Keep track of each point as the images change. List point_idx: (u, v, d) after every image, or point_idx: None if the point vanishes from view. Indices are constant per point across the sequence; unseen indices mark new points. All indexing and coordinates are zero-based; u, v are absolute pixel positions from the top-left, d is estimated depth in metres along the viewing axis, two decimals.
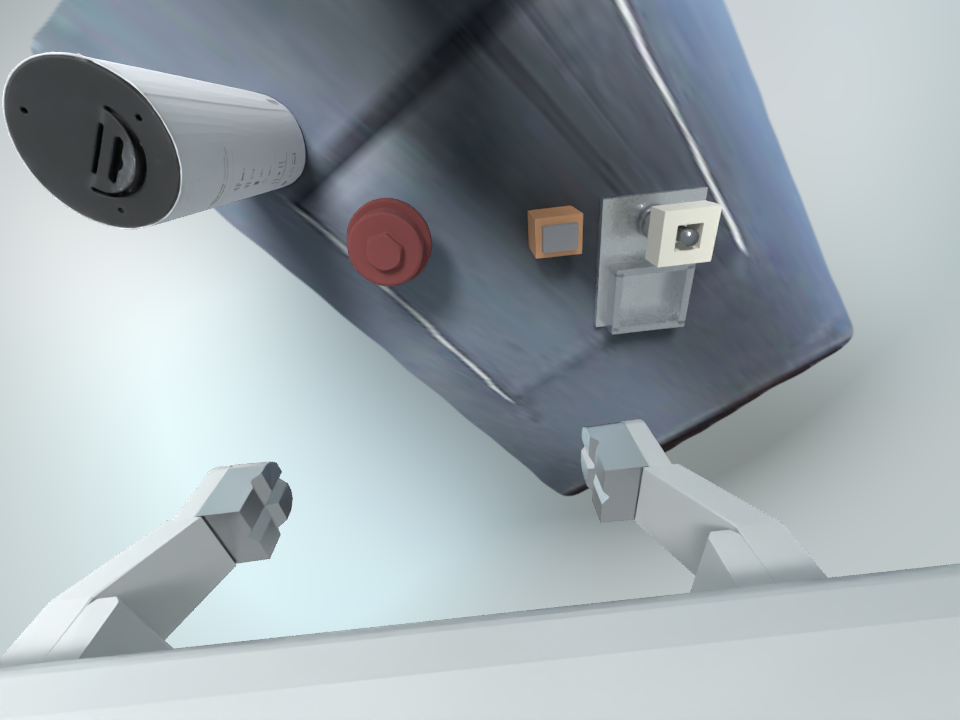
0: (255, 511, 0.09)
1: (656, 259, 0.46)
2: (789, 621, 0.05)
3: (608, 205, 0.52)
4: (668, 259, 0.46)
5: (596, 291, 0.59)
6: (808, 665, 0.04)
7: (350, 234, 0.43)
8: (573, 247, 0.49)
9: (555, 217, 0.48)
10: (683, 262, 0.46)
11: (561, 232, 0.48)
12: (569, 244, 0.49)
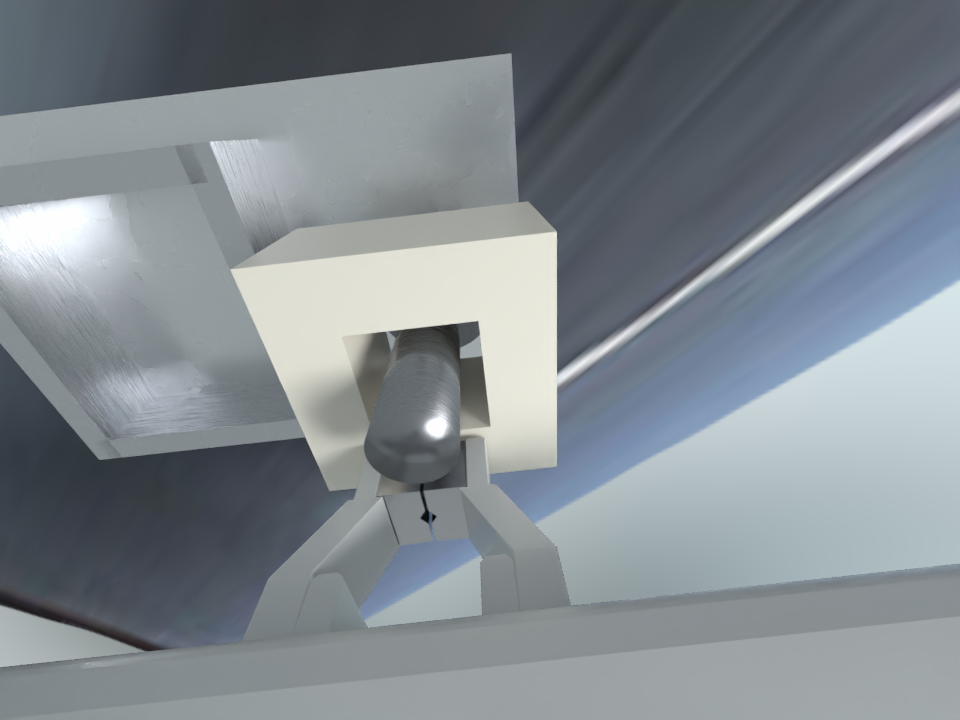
0: None
1: (284, 256, 0.08)
2: (789, 621, 0.05)
3: (487, 84, 0.13)
4: (293, 319, 0.08)
5: None
6: (808, 665, 0.04)
7: None
8: None
9: None
10: (297, 394, 0.09)
11: None
12: None
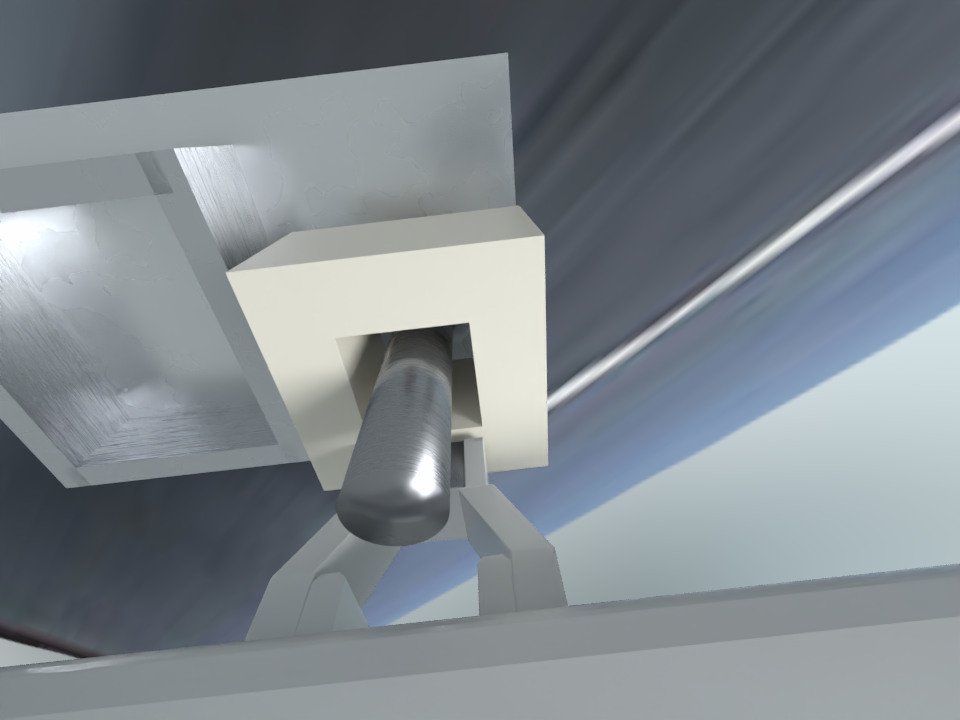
0: None
1: (279, 260, 0.08)
2: (789, 621, 0.05)
3: (482, 86, 0.12)
4: (288, 321, 0.08)
5: None
6: (808, 665, 0.04)
7: None
8: None
9: None
10: (292, 395, 0.09)
11: None
12: None
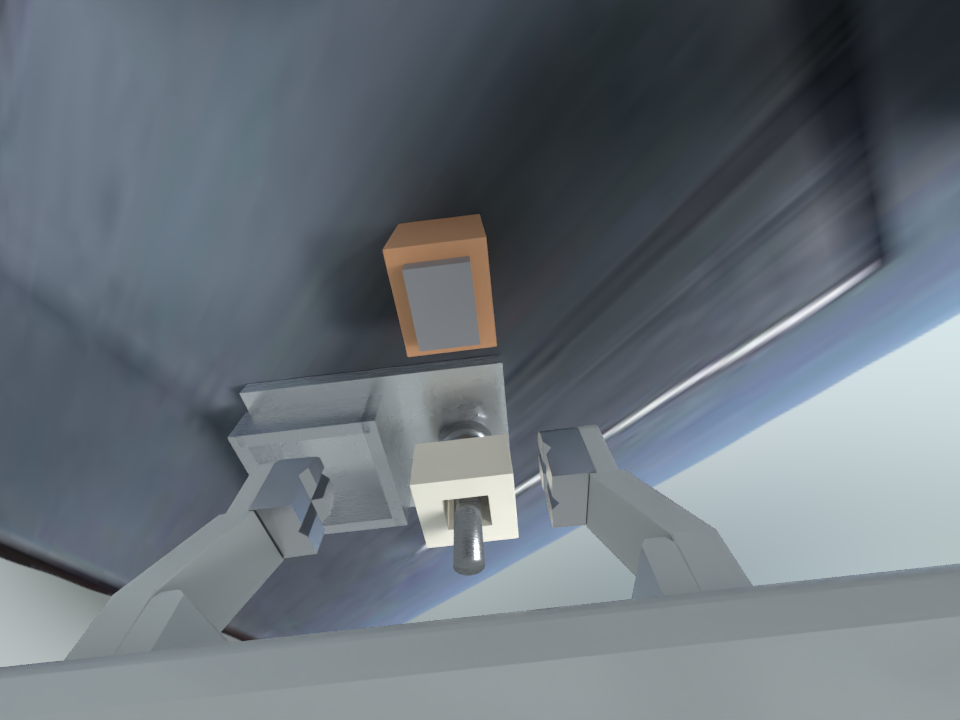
0: (304, 506, 0.09)
1: (424, 477, 0.24)
2: (789, 621, 0.05)
3: (491, 373, 0.28)
4: (426, 496, 0.24)
5: (321, 379, 0.28)
6: (808, 665, 0.04)
7: None
8: (423, 342, 0.20)
9: (489, 287, 0.20)
10: (422, 516, 0.25)
11: (458, 309, 0.19)
12: (430, 331, 0.20)
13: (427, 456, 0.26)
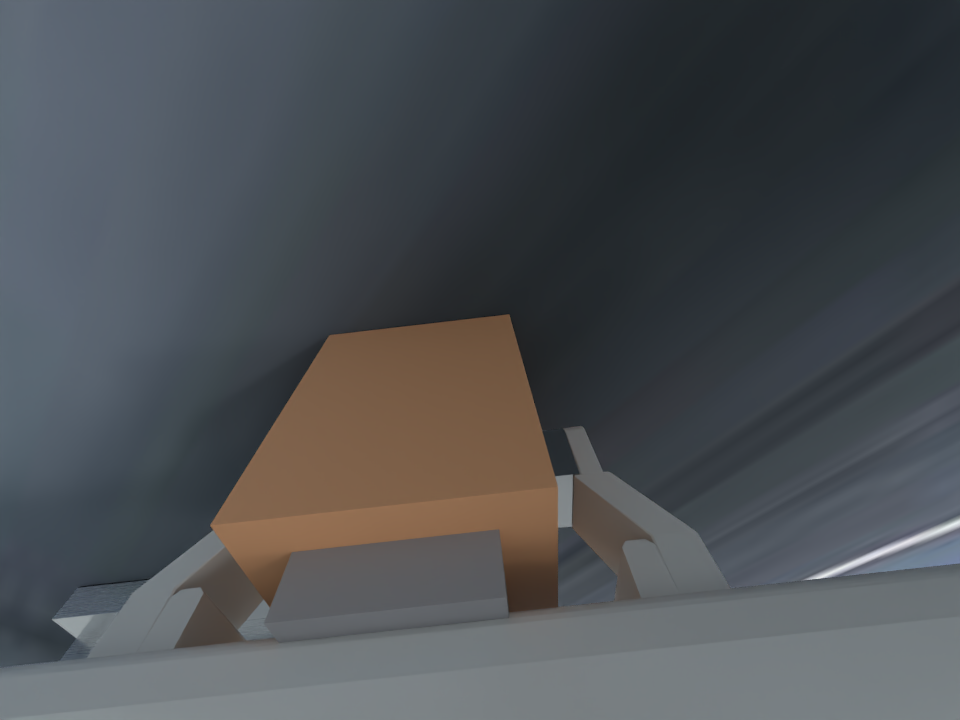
0: None
1: None
2: (789, 621, 0.05)
3: None
4: None
5: None
6: (808, 665, 0.04)
7: None
8: None
9: (551, 586, 0.07)
10: None
11: None
12: None
13: None
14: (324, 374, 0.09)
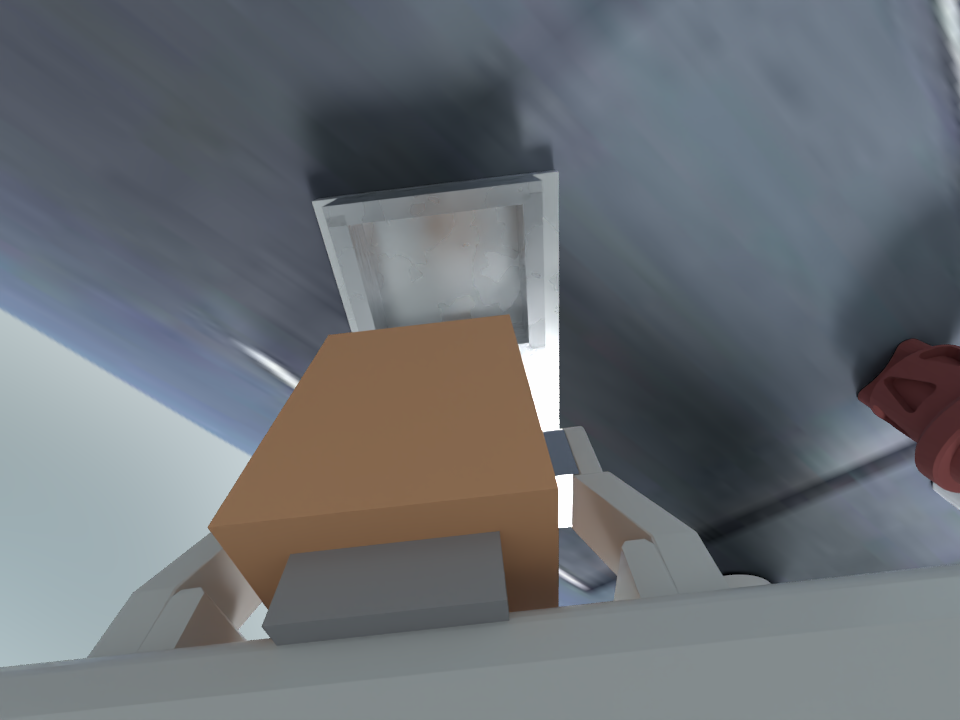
0: None
1: None
2: (789, 621, 0.05)
3: (549, 423, 0.31)
4: None
5: None
6: (808, 665, 0.04)
7: None
8: None
9: (552, 588, 0.07)
10: None
11: None
12: None
13: None
14: (323, 374, 0.09)
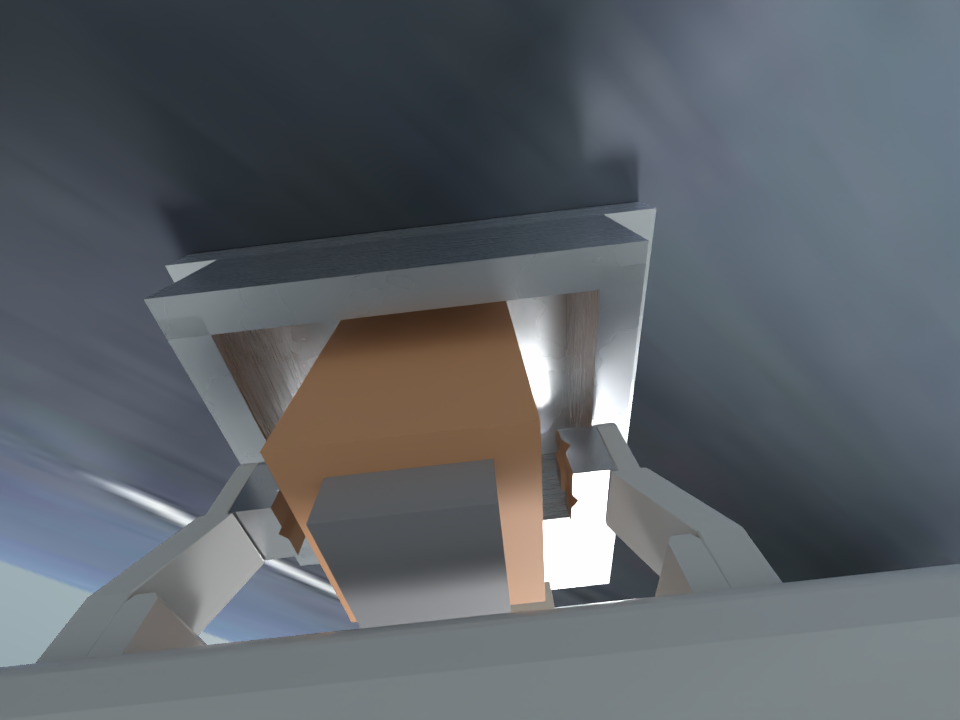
0: (285, 508, 0.09)
1: None
2: (789, 621, 0.05)
3: (595, 576, 0.20)
4: None
5: None
6: (808, 665, 0.04)
7: None
8: None
9: (537, 514, 0.08)
10: None
11: (463, 585, 0.08)
12: (393, 620, 0.08)
13: None
14: (342, 344, 0.10)
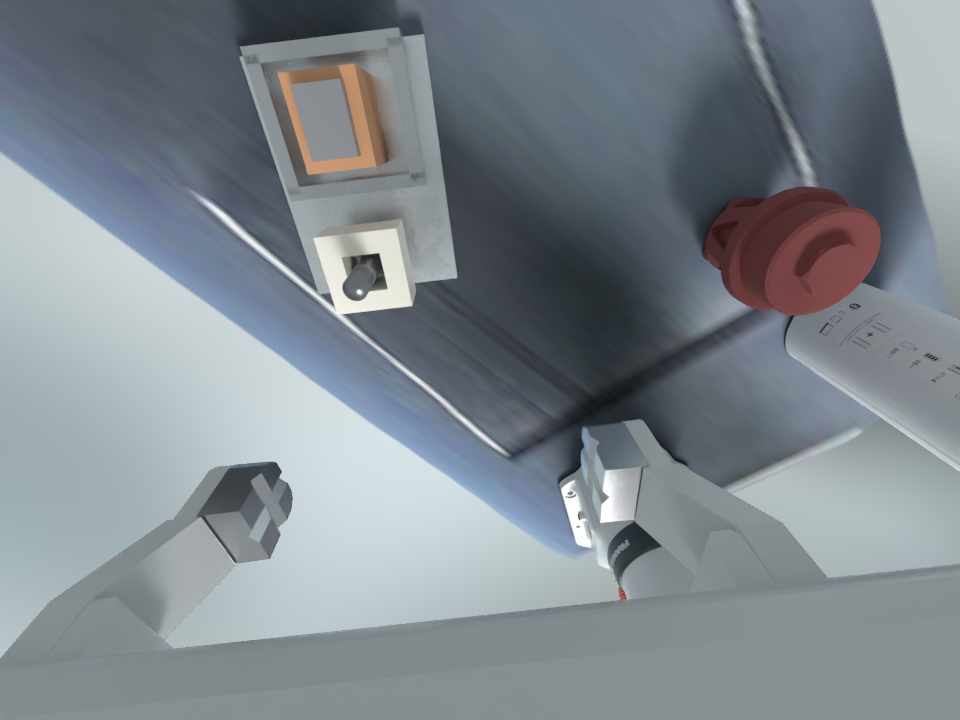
0: (255, 511, 0.09)
1: (399, 238, 0.30)
2: (789, 621, 0.05)
3: (448, 270, 0.38)
4: (383, 241, 0.30)
5: (436, 123, 0.32)
6: (808, 665, 0.04)
7: (854, 288, 0.30)
8: (314, 152, 0.26)
9: (362, 110, 0.26)
10: (357, 236, 0.30)
11: (336, 122, 0.26)
12: (317, 142, 0.26)
13: (402, 234, 0.32)
14: None
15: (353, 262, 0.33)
